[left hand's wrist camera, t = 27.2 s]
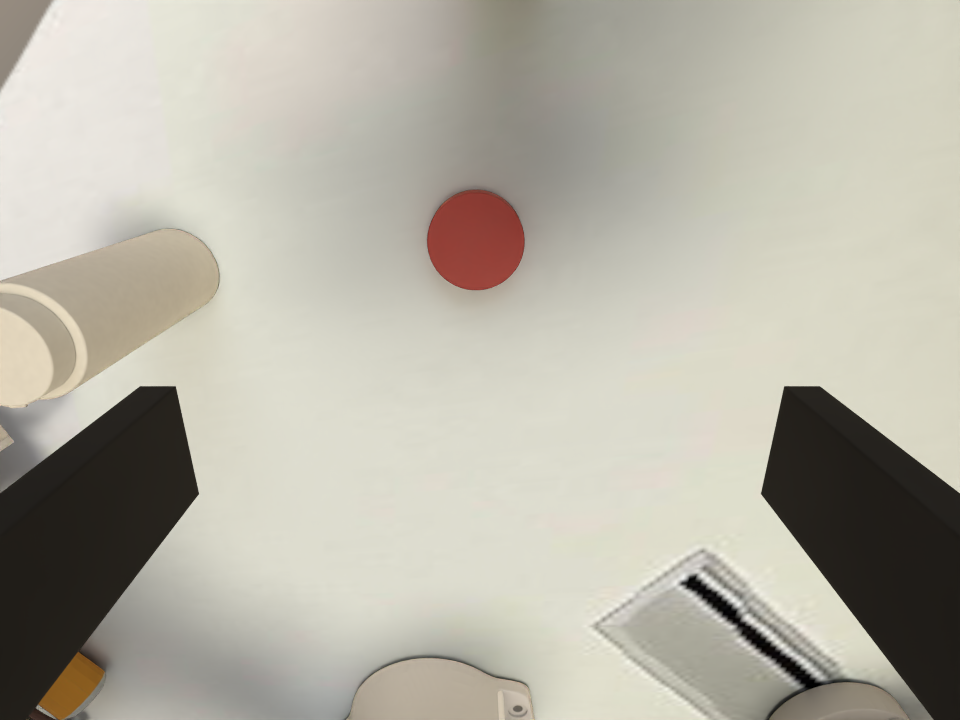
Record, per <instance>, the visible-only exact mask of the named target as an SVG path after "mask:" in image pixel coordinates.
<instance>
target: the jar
mask: <svg viewBox="0 0 960 720" xmlns="http://www.w3.org/2000/svg"><path fill="white" fill-rule="evenodd" d="M218 283H219V272H218V267H217V263H216V261H215V259H214V257H213V255H212V253H211V252H210V250H209V249H208V248H207V247H206V246H205V245H204V243H202V242H201V241H200V240H199V239H197V238H196V237H194V236H193V235H191V234H189V233H187V232H184V231H181V230H177V229H161V230H157V231H154V232H151V233H147V234H144V235H141V236H138V237H135V238H132V239H129V240H126V241H123V242H120V243H116V244H113V245H110V246H107V247H104V248H101V249H98V250H95V251H92V252H88V253H85V254H82V255H79V256H76V257H73V258H70V259H67V260H64V261H60V262H57V263H54V264H51V265H48V266H45V267H42V268H39V269H36V270H33V271H29V272H26V273H23V274H20V275H17V276H14V277H11V278H8V279H5V280H1V281H0V406H7V407H10V408H19V407H27V406H28V404H30V403H32V402H35V401H37V400H46V399H54V398H58V397H61V396H63V395H66V394H68V393H69V392H71V391H73V390H74V389H76V388H77V387H79V386H80V385H82V384H83V383H85V382H86V381H88V380H90V379H91V378H93V377H94V376H96V375H97V374H99V373H100V372H102V371H103V370H105V369H106V368H108V367H110V366H111V365H113V364H114V363H116V362H117V361H119V360H120V359H122V358H123V357H125V356H127V355H128V354H130V353H131V352H133V351H134V350H136V349H137V348H139V347H140V346H142V345H144V344H145V343H147V342H148V341H150V340H151V339H153V338H154V337H156V336H157V335H159V334H161V333H162V332H164V331H165V330H167V329H168V328H170V327H171V326H173V325H174V324H176V323H177V322H179V321H181V320H182V319H184V318H185V317H187V316H188V315H190V314H191V313H193V312H194V311H196V310H198V309H199V308H201V307H202V306H204V305H205V304H207V303H208V302H209V301H210V300H211V299H212V298H213V296H214V295H215V293H216V290H217V288H218Z"/></svg>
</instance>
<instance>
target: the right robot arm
mask: <svg viewBox="0 0 960 720" xmlns="http://www.w3.org/2000/svg"><path fill="white" fill-rule="evenodd" d="M13 442H14V441H13V440H12V439H11V437H10V436H9V434H8V433H7V432H6V431H5V429H4V428H3V427H2V426H1V425H0V451H2V450H3V449H5V448H6V447H8V446H9V445H11V444H12V443H13ZM346 720H535V719H534V713H533V708H532V702H531V696H530V691H529V689H528V687H527V686H526V685H524V684H522V683H520V682H516V681H511V680H505V679H499V678H494V677H492V676H490V675H487V674H485V673H484V672H482V671H480V670H478V669H476V668H474V667H471V666H469V665H466V664H463V663H460V662H456V661H452V660H447V659H438V658H419V659H411V660H405V661H401V662H398V663H394V664H392V665H389V666H387V667H385V668H383V669H381V670H379V671H377V672H376V673H374V674H373V675H371V676H370V677H369V678H368V679H367V680H366V681H365V682H364V683H363V684H362V685H361V686H360V688H359V689H358V691H357V693H356V695H355V697H354V700H353V704H352V708H351V712H350V715H349V717H348V718H347V719H346Z"/></svg>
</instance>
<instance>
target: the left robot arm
mask: <svg viewBox="0 0 960 720" xmlns="http://www.w3.org/2000/svg"><path fill="white" fill-rule="evenodd" d="M198 494H199V492H198V487H197V483H196V478H195V473H194V469H193V464H192V460H191V455H190V450H189V446H188V441H187V436H186V432H185V427H184V423H183V418H182V413H181V409H180V404H179V400H178V395H177V390H176V386H140V387H139V388H137V389H136V390H135V391H134V392H132V393H131V394H130V395H128V396H127V397H126V398H124V399H123V400H122V401H120V402H119V403H118V404H117V405H115V406H114V407H113V408H111V409H110V410H109V411H107V412H106V413H105V414H103V415H102V416H101V417H100V418H98V419H97V420H96V421H94V422H93V423H92V424H90V425H89V426H88V427H86V428H85V429H84V430H83V431H81V432H80V433H79V434H77V435H76V436H75V437H73V438H72V439H71V440H69V441H68V442H67V443H66V444H64V445H63V446H62V447H60V448H59V449H58V450H56V451H55V452H54V453H52V454H51V455H50V456H49V457H47V458H46V459H45V460H43V461H42V462H41V463H39V464H38V465H37V466H35V467H34V468H33V469H32V470H30V471H29V472H28V473H26V474H25V475H24V476H22V477H21V478H20V479H18V480H17V481H16V482H15V483H13V484H12V485H11V486H9V487H8V488H7V489H5V490H4V491H3V492H1V493H0V720H26V719H27V718H28V717H29V715H30V714H31V713H32V711H33V710H34V709H35V708H36V706H37V705H38V704H39V702H40V701H41V700H42V698H43V697H44V696H45V694H46V693H47V692H48V691H49V689H50V688H51V687H52V685H53V684H54V683H55V681H56V680H57V679H58V677H59V676H60V675H61V674H62V672H63V671H64V670H65V668H66V667H67V666H68V664H69V663H70V662H71V660H72V659H73V658H74V657H75V655H76V654H77V653H78V651H79V650H80V649H81V647H82V646H83V645H84V643H85V642H86V641H87V640H88V638H89V637H90V636H91V634H92V633H93V632H94V630H95V629H96V628H97V626H98V625H99V624H100V623H101V621H102V620H103V619H104V617H105V616H106V615H107V613H108V612H109V611H110V609H111V608H112V607H113V606H114V604H115V603H116V602H117V600H118V599H119V598H120V596H121V595H122V594H123V592H124V591H125V590H126V589H127V587H128V586H129V585H130V583H131V582H132V581H133V579H134V578H135V577H136V575H137V574H138V573H139V572H140V570H141V569H142V568H143V566H144V565H145V564H146V562H147V561H148V560H149V559H150V557H151V556H152V555H153V553H154V552H155V551H156V549H157V548H158V547H159V545H160V544H161V543H162V542H163V540H164V539H165V538H166V536H167V535H168V534H169V532H170V531H171V530H172V528H173V527H174V526H175V525H176V523H177V522H178V521H179V519H180V518H181V517H182V515H183V514H184V513H185V511H186V510H187V509H188V508H189V506H190V505H191V504H192V502H193V501H194V500H195V498H196V497H197V496H198ZM761 494H762V496H763V497H764V498H765V500H766V501H767V502H768V504H769V505H770V506H771V508H772V509H773V510H774V511H775V513H776V514H777V515H778V517H779V518H780V519H781V521H782V522H783V523H784V525H785V526H786V527H787V528H788V530H789V531H790V532H791V534H792V535H793V536H794V538H795V539H796V540H797V542H798V543H799V544H800V545H801V547H802V548H803V549H804V551H805V552H806V553H807V555H808V556H809V557H810V559H811V560H812V561H813V562H814V564H815V565H816V566H817V568H818V569H819V570H820V572H821V573H822V574H823V576H824V577H825V578H826V579H827V581H828V582H829V583H830V585H831V586H832V587H833V589H834V590H835V591H836V592H837V594H838V595H839V596H840V598H841V599H842V600H843V602H844V603H845V604H846V606H847V607H848V608H849V609H850V611H851V612H852V613H853V615H854V616H855V617H856V619H857V620H858V621H859V623H860V624H861V625H862V626H863V628H864V629H865V630H866V632H867V633H868V634H869V636H870V637H871V638H872V640H873V641H874V642H875V643H876V645H877V646H878V647H879V649H880V650H881V651H882V653H883V654H884V655H885V657H886V658H887V659H888V660H889V662H890V663H891V664H892V666H893V667H894V668H895V670H896V671H897V672H898V674H899V675H900V676H901V677H902V679H903V680H904V681H905V683H906V684H907V685H908V687H909V688H910V689H911V691H912V692H913V693H914V694H915V696H916V697H917V698H918V700H919V701H920V702H921V704H922V705H923V706H924V708H925V709H926V710H927V711H928V713H929V714H930V715H931V717H932V718H933V719H934V720H960V493H959V492H957V491H956V490H955V489H953V488H952V487H951V486H949V485H948V484H947V483H945V482H944V481H943V480H942V479H940V478H939V477H938V476H936V475H935V474H934V473H932V472H931V471H930V470H928V469H927V468H926V467H925V466H923V465H922V464H921V463H919V462H918V461H917V460H915V459H914V458H913V457H911V456H910V455H909V454H908V453H906V452H905V451H904V450H902V449H901V448H900V447H898V446H897V445H896V444H894V443H893V442H892V441H891V440H889V439H888V438H887V437H885V436H884V435H883V434H881V433H880V432H879V431H877V430H876V429H875V428H874V427H872V426H871V425H870V424H868V423H867V422H866V421H864V420H863V419H862V418H860V417H859V416H858V415H857V414H855V413H854V412H853V411H851V410H850V409H849V408H847V407H846V406H845V405H843V404H842V403H841V402H840V401H838V400H837V399H836V398H834V397H833V396H832V395H830V394H829V393H828V392H826V391H825V390H824V389H823V388H821V387H820V386H784V390H783V395H782V400H781V404H780V409H779V413H778V418H777V423H776V427H775V432H774V436H773V441H772V446H771V450H770V455H769V460H768V464H767V469H766V473H765V478H764V483H763V487H762V492H761Z"/></svg>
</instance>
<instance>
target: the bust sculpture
mask: <svg viewBox="0 0 960 720" xmlns="http://www.w3.org/2000/svg"><path fill="white" fill-rule="evenodd" d="M769 720H910V719H909V718H908V716H907V715H906V713H905V712H904V711H903V709H902V708H901V707H900V705H899V704H898V702H897V701H896V700H895V699H894V698H893V697H892V696H891V695H890V694H889V693H887V692H885V691H884V690H882V689H880V688H877V687H875V686H872V685H868V684H863V683H853V682H843V683H832V684H827V685H822V686H818V687H815V688H812V689H809V690H807V691H804V692H802V693H800V694H798V695H796V696H794V697H793V698H791V699H790V700H788V701H787V702H785V703H784V704H783V705H782V706H780V707H779V708H778V709H777V710H776V711H775V712H774V713H773V715H772V716H771V717H770V719H769Z"/></svg>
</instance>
